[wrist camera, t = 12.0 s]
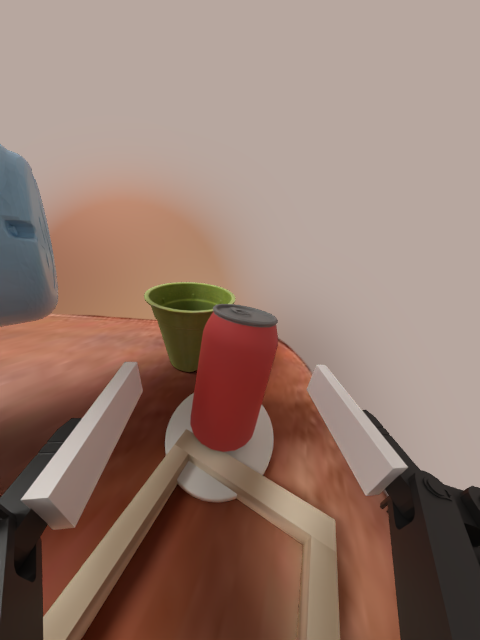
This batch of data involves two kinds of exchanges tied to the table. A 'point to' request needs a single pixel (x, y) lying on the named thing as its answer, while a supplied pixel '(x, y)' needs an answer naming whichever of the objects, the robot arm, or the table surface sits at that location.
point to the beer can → (232, 375)
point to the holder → (252, 490)
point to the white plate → (250, 454)
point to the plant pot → (185, 317)
